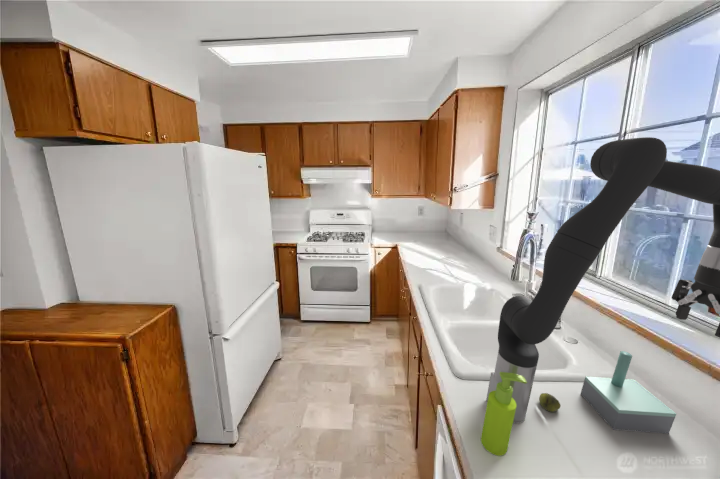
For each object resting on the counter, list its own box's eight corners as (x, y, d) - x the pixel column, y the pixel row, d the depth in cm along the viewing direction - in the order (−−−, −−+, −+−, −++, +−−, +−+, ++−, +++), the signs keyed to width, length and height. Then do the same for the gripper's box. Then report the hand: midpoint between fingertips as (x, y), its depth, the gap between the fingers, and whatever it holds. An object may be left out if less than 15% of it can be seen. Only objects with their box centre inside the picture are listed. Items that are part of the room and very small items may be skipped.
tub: (612, 431, 74) (618, 413, 72) (579, 395, 85) (584, 379, 84) (667, 435, 73) (675, 417, 72) (627, 399, 85) (633, 382, 83)
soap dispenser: (515, 459, 66) (531, 387, 61) (483, 452, 67) (496, 381, 62) (507, 436, 71) (521, 369, 66) (478, 430, 73) (490, 364, 68)
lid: (617, 416, 72) (630, 376, 70) (583, 382, 84) (593, 346, 81) (674, 420, 72) (689, 380, 69) (632, 385, 84) (643, 349, 81)
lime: (535, 401, 83) (538, 387, 81) (553, 404, 82) (557, 390, 80) (541, 414, 78) (545, 399, 77) (561, 417, 77) (565, 402, 76)
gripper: (676, 257, 75) (656, 313, 78) (747, 276, 61) (719, 342, 65) (703, 259, 75) (683, 315, 78) (781, 278, 61) (752, 345, 65)
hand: (699, 327), depth 72 cm, fingers open, 8 cm apart
